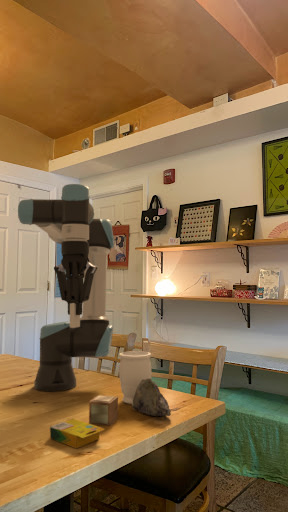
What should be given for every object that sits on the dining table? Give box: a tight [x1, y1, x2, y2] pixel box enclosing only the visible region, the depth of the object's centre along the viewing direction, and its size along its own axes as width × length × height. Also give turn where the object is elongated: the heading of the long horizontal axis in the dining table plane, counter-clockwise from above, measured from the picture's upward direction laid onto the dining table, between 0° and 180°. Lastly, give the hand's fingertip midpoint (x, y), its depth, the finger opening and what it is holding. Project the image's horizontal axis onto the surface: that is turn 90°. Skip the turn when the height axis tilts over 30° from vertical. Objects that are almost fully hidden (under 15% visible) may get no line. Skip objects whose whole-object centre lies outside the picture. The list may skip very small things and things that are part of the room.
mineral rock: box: [131, 377, 172, 417], centre depth 112 cm, size 13×11×10 cm
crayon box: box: [49, 418, 105, 449], centre depth 93 cm, size 7×3×12 cm
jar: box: [118, 350, 152, 405], centre depth 126 cm, size 11×10×15 cm
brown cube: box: [88, 394, 119, 427], centre depth 106 cm, size 6×6×6 cm
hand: (74, 326), depth 107 cm, fingers closed
